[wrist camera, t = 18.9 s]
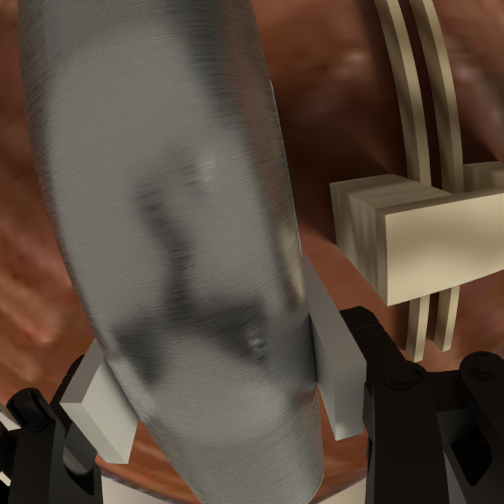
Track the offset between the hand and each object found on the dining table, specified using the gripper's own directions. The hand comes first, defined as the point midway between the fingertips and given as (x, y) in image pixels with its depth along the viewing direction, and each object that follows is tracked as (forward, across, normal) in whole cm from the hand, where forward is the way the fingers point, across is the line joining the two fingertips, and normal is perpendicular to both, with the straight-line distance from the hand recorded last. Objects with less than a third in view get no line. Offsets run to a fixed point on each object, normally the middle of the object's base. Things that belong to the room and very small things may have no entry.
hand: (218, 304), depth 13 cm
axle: (-3, 0, +2) cm, 4 cm away
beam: (+12, +17, -1) cm, 21 cm away
